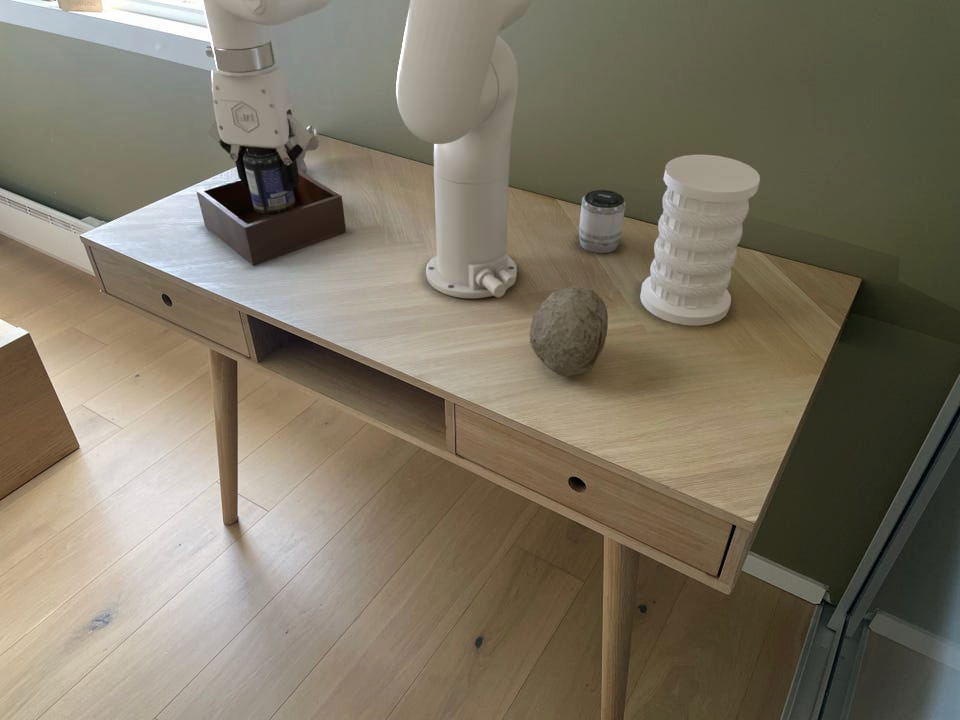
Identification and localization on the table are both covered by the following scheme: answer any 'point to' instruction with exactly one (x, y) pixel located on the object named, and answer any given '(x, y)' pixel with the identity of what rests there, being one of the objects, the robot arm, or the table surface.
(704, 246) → the decorative container
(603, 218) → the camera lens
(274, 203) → the pill bottle
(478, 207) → the robot arm
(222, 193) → the box
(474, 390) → the table surface
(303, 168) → the toy rhinoceros
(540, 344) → the decorative stone
